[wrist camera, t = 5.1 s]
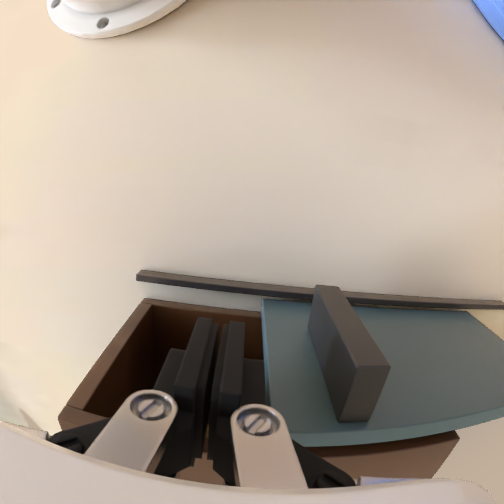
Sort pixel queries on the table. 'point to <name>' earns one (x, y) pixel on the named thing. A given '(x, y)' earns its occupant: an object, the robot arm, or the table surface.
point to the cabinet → (178, 335)
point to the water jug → (493, 14)
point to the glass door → (377, 370)
